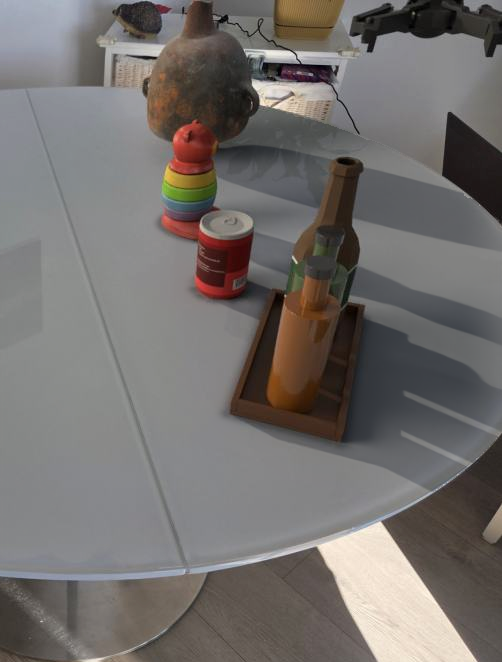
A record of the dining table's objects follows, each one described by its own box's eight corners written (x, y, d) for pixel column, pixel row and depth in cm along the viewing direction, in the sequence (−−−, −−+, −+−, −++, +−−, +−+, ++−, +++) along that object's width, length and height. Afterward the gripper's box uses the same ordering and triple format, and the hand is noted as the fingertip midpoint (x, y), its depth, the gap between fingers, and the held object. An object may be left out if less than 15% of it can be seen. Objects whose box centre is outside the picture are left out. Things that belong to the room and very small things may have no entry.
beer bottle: (306, 351, 84) (346, 181, 69) (267, 320, 90) (296, 157, 75) (352, 333, 86) (400, 164, 71) (311, 305, 92) (348, 142, 77)
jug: (250, 130, 146) (270, -18, 127) (252, 169, 130) (274, 6, 111) (143, 129, 151) (147, -13, 133) (132, 167, 135) (134, 11, 116)
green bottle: (326, 354, 83) (361, 222, 71) (320, 382, 79) (356, 247, 67) (280, 344, 86) (306, 215, 74) (272, 371, 82) (298, 239, 70)
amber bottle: (319, 388, 79) (354, 253, 67) (312, 419, 75) (348, 282, 63) (270, 377, 81) (296, 244, 69) (261, 406, 77) (287, 272, 65)
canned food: (245, 273, 101) (254, 210, 94) (246, 302, 95) (255, 237, 88) (195, 270, 102) (200, 208, 95) (193, 298, 96) (198, 234, 89)
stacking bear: (204, 242, 109) (214, 141, 98) (150, 231, 113) (153, 132, 102) (226, 215, 116) (237, 117, 105) (174, 205, 120) (179, 110, 109)
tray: (361, 316, 90) (365, 304, 89) (340, 442, 72) (344, 429, 71) (269, 299, 95) (271, 287, 93) (229, 413, 77) (230, 401, 76)
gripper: (522, 35, 93) (535, 80, 78) (338, 30, 102) (320, 69, 88) (543, -23, 88) (561, 12, 74) (349, -23, 98) (331, 9, 83)
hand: (430, 43), depth 81 cm, fingers open, 13 cm apart
